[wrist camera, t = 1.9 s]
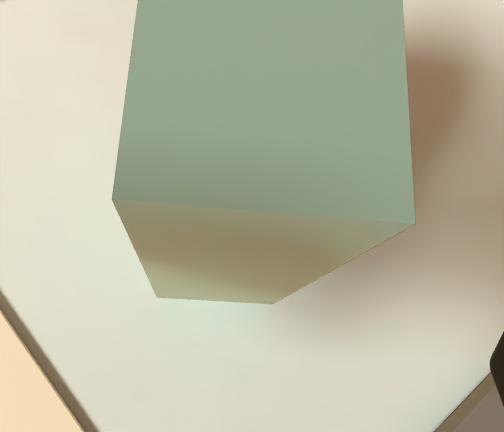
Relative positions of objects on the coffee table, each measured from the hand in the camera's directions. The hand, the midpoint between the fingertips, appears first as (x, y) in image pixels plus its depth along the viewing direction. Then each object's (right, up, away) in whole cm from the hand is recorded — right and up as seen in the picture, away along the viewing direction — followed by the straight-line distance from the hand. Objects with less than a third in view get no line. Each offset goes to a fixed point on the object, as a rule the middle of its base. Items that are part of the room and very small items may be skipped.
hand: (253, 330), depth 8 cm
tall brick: (-1, +1, +12) cm, 12 cm away
